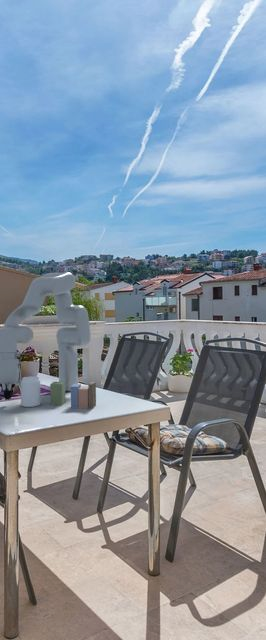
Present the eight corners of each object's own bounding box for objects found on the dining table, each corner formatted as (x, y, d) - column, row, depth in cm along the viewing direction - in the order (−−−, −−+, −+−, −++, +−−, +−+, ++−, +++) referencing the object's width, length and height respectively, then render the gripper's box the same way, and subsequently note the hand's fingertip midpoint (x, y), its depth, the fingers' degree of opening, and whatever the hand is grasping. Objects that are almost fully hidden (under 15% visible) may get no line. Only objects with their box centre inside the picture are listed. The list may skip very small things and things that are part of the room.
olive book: (54, 401, 223) (54, 381, 223) (65, 402, 223) (65, 381, 223) (50, 405, 217) (50, 384, 217) (62, 405, 216) (61, 384, 216)
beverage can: (36, 408, 211) (35, 379, 210) (17, 407, 212) (17, 378, 212) (43, 404, 219) (43, 376, 218) (25, 403, 220) (25, 376, 220)
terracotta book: (81, 405, 217) (81, 386, 216) (90, 405, 216) (90, 386, 216) (78, 408, 210) (78, 389, 210) (87, 408, 210) (87, 389, 210)
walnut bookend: (91, 404, 217) (91, 381, 216) (96, 404, 216) (95, 381, 216) (88, 408, 210) (88, 384, 209) (93, 408, 210) (93, 384, 209)
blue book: (74, 404, 217) (73, 384, 217) (80, 404, 217) (80, 384, 216) (70, 408, 211) (70, 386, 210) (77, 408, 210) (77, 386, 210)
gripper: (27, 355, 218) (27, 398, 219) (-7, 355, 220) (-6, 397, 220) (22, 357, 211) (22, 401, 211) (-13, 356, 212) (-13, 400, 213)
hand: (7, 399), depth 216 cm, fingers closed
